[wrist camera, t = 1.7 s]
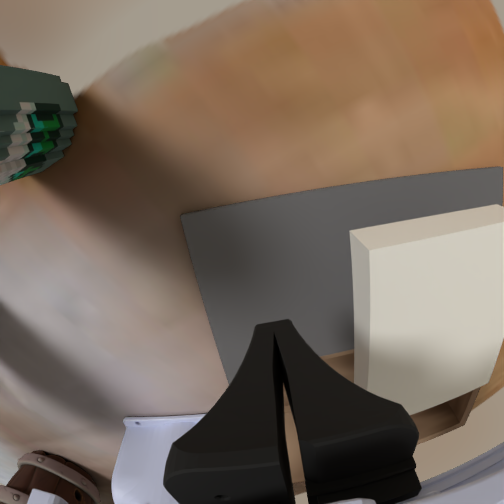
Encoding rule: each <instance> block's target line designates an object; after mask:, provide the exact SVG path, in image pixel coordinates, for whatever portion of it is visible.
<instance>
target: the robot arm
mask: <svg viewBox="0 0 504 504" xmlns="http://www.w3.org/2000/svg"><path fill="white" fill-rule="evenodd" d="M283 383H284V387H285V391H286V394H287V398H288V401H289V405H290V409H291V412H292V416H293V419H294V423H295V427H296V431H297V436H298V441H299V448H300V454H301V460H302V466H303V472H304V478H305V484H306V491H307V497H308V503H309V504H504V442H503V443H501V444H499V445H498V446H496V447H494V448H492V449H491V450H489V451H487V452H485V453H483V454H481V455H480V456H478V457H476V458H474V459H472V460H470V461H468V462H466V463H464V464H462V465H460V466H457V467H455V468H453V469H451V470H449V471H447V472H445V473H442V474H440V475H437V476H435V477H433V478H430V479H428V480H425V481H423V482H419V480H418V477H417V474H416V472H415V468H416V463H415V461H414V459H413V453H414V451H415V447H416V445H417V442H418V440H419V431H418V429H417V426H416V424H415V423H414V421H413V419H412V418H411V416H410V415H409V414H408V412H407V411H406V410H405V408H404V407H403V406H402V405H401V404H399V403H396V402H393V401H390V400H388V399H385V398H382V397H379V396H377V395H375V394H373V393H371V392H369V391H367V390H365V389H363V388H361V387H360V386H358V385H356V384H354V383H353V382H351V381H349V380H348V379H346V378H345V377H344V376H342V375H341V374H339V373H338V372H337V371H335V370H334V369H333V368H332V367H330V366H329V365H328V364H327V363H326V362H325V361H324V360H323V359H321V358H320V357H319V356H318V355H317V354H316V353H315V352H314V351H313V350H312V348H311V347H310V346H309V345H308V344H307V343H306V342H305V340H304V339H303V338H302V337H301V335H300V334H299V333H298V331H297V330H296V328H295V327H294V325H293V323H292V321H291V320H289V319H284V320H279V321H273V322H268V323H262V324H257V325H256V326H255V327H254V332H253V336H252V339H251V342H250V345H249V348H248V350H247V352H246V355H245V357H244V359H243V361H242V363H241V365H240V367H239V369H238V371H237V373H236V375H235V377H234V378H233V380H232V382H231V383H230V385H229V386H228V388H227V389H226V391H225V392H224V394H223V395H222V396H221V397H220V399H219V400H218V401H217V403H216V404H215V405H214V406H213V407H212V408H211V410H210V411H209V412H208V413H207V414H197V415H183V416H163V417H125V418H124V420H123V423H124V425H125V426H126V427H127V428H126V430H125V434H124V437H123V440H122V444H121V447H120V450H119V454H118V457H117V461H116V464H115V468H114V471H113V476H112V496H113V500H114V503H115V504H295V497H294V490H293V483H292V476H291V469H290V462H289V456H288V449H287V442H286V433H285V413H284V389H283ZM27 504H68V503H67V502H66V501H65V500H64V499H62V498H61V497H59V496H57V495H55V494H52V493H48V492H45V491H42V490H38V489H32V492H31V494H30V497H29V500H28V502H27Z"/></svg>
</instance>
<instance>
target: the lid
mask: <svg viewBox="0 0 504 504" xmlns="http://www.w3.org/2000/svg"><path fill="white" fill-rule="evenodd" d="M349 232H350V245H351V259H352V277H353V301H354V384H356V385H358V386H360V387H361V388H363V389H365V390H367V391H369V392H371V393H373V394H375V395H377V396H379V397H382V398H385V399H388V400H390V401H393V402H396V403H399V404H401V405H402V406H403V407H404V408H405V410H406V411H407V412H408V414H409V415H412V414H415V413H418V412H421V411H423V410H426V409H429V408H431V407H434V406H437V405H439V404H442V403H444V402H447V401H449V400H451V399H454V398H456V397H459V396H461V395H463V394H465V393H468V392H470V391H472V390H474V389H476V388H479V387H481V386H483V385H485V384H487V383H488V382H489V380H490V377H491V374H492V372H493V369H494V366H495V363H496V360H497V357H498V354H499V351H500V348H501V345H502V341H503V338H504V207H503V206H500V205H498V204H495V205H489V206H484V207H478V208H472V209H467V210H461V211H455V212H450V213H444V214H439V215H433V216H427V217H422V218H416V219H411V220H405V221H399V222H394V223H388V224H383V225H377V226H372V227H366V228H361V229H355V230H350V231H349Z"/></svg>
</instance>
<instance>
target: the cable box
mask: <svg viewBox="0 0 504 504" xmlns="http://www.w3.org/2000/svg"><path fill="white" fill-rule="evenodd" d="M320 358H321V359H323V360H324V361H325V362H326V363H327V364H328V365H329V366H330V367H332V368H333V369H334V370H335V371H337V372H338V373H339V374H341V375H342V376H344V377H345V378H346V379H348V380H349V381H351V382H353V383H354V349H352V350H347V351H343V352H339V353H334V354H330V355H325V356H321V357H320ZM283 389H284V413H285V433H286V442H287V449H288V456H289V462H290V469H291V476H292V483H297V482H303V481H305V478H304V472H303V466H302V460H301V454H300V448H299V441H298V436H297V431H296V427H295V423H294V419H293V416H292V412H291V409H290V405H289V401H288V398H287V394H286V391H285V387H284V383H283ZM479 390H480V387H479V388H476V389H474V390H472V391H470V392H468V393H465V394H463V395H461V396H459V397H456V398H454V399H451V400H449V401H447V402H444V403H442V404H439V405H437V406H434V407H431V408H429V409H426V410H423V411H421V412H418V413H415V414H412V415H410V416H411V418H412V419H413V421H414V423H415V424H416V426H417V429H418V431H419V440H418V442H417V445H418V444H420V443H423V442H425V441H428V440H431V439H433V438H435V437H438V436H440V435H443V434H445V433H448V432H450V431H452V430H454V429H456V428H459V427H461V426H463V425H465V423H466V421H467V418H468V416H469V414H470V412H471V409H472V407H473V405H474V402H475V400H476V397H477V395H478V392H479Z"/></svg>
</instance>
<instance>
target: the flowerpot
mask: <svg viewBox="0 0 504 504" xmlns="http://www.w3.org/2000/svg"><path fill="white" fill-rule="evenodd" d="M17 465H18V468H19V470H18V471H17V472H16V473H15V475H14V476H13V477H12V478H11V480H10V481H9V482H8V484H7V485H6V486H3V485H0V504H27V502H28V500H29V497H30V494H31V492H32V489H38V490H42V491H45V492H48V493H52V494H55V495H57V496H59V497H61V498H62V499H64V500H65V501H66V502H67V503H68V504H100V502H101V500H100V494H99V491H98V489H97V488H96V483H95V482H94V481H93V480H92V478H91V476H90V475H88V474H87V473H86V472H85V471H84V470H82V469H81V468H79V467H78V466H76V465H75V464H73V463H71V462H66V461H65V460H64V459H63V458H61V457H59V456H56V455H47V456H46V454H45V453H44V452H43V451H40V450H39V451H33V452H32V453H27V454H25V455H24V456H22V457H21V458H20V459H19V460H18V463H17Z"/></svg>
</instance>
